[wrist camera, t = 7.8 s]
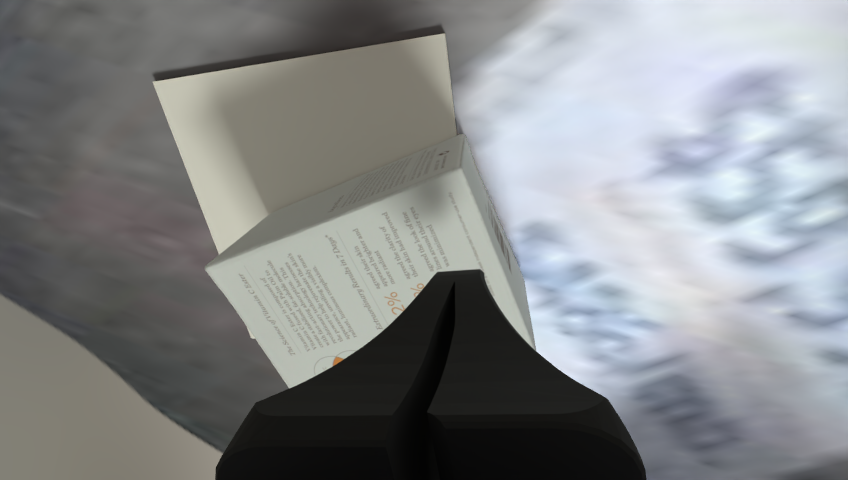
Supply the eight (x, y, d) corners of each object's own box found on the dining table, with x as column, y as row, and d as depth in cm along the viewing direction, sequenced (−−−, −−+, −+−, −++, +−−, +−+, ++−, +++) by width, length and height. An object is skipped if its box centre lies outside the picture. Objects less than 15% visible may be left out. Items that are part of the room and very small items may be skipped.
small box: (468, 128, 18) (264, 210, 21) (462, 164, 13) (196, 265, 16) (525, 284, 21) (339, 337, 24) (540, 362, 16) (302, 417, 19)
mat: (445, 33, 17) (444, 33, 17) (478, 325, 23) (478, 328, 22) (157, 81, 19) (152, 82, 19) (253, 335, 25) (251, 338, 25)
